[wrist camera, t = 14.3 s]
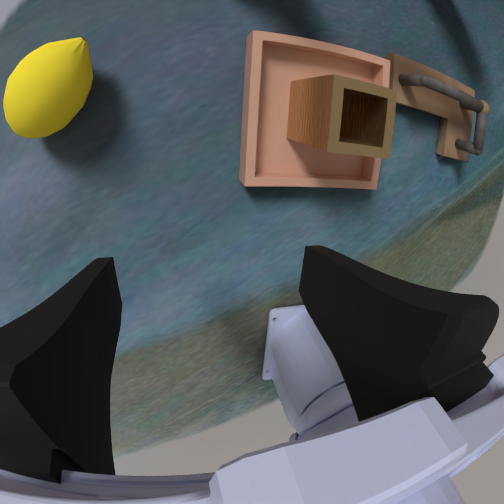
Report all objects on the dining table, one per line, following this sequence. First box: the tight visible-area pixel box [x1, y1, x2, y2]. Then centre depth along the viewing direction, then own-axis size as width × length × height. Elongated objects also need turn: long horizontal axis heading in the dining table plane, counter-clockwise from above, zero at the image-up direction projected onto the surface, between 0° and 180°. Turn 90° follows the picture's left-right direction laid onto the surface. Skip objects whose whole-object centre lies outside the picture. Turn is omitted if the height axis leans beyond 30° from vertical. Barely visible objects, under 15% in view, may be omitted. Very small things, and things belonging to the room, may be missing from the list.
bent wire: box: [387, 53, 489, 162], centre depth 19 cm, size 8×11×4 cm
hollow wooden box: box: [287, 74, 397, 159], centre depth 16 cm, size 4×4×6 cm
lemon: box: [3, 37, 93, 138], centre depth 12 cm, size 7×5×5 cm
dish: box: [239, 30, 390, 190], centre depth 18 cm, size 10×10×2 cm
